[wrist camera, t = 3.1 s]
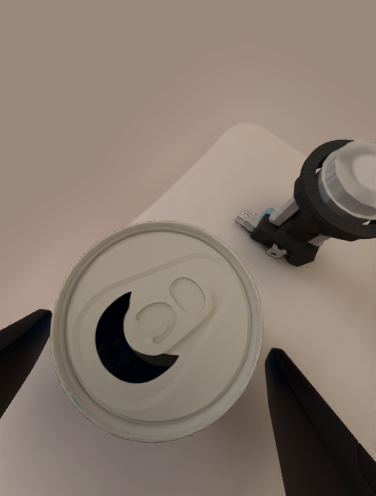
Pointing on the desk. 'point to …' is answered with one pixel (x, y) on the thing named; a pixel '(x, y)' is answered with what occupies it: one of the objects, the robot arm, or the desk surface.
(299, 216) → the push button
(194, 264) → the beverage can
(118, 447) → the desk surface
